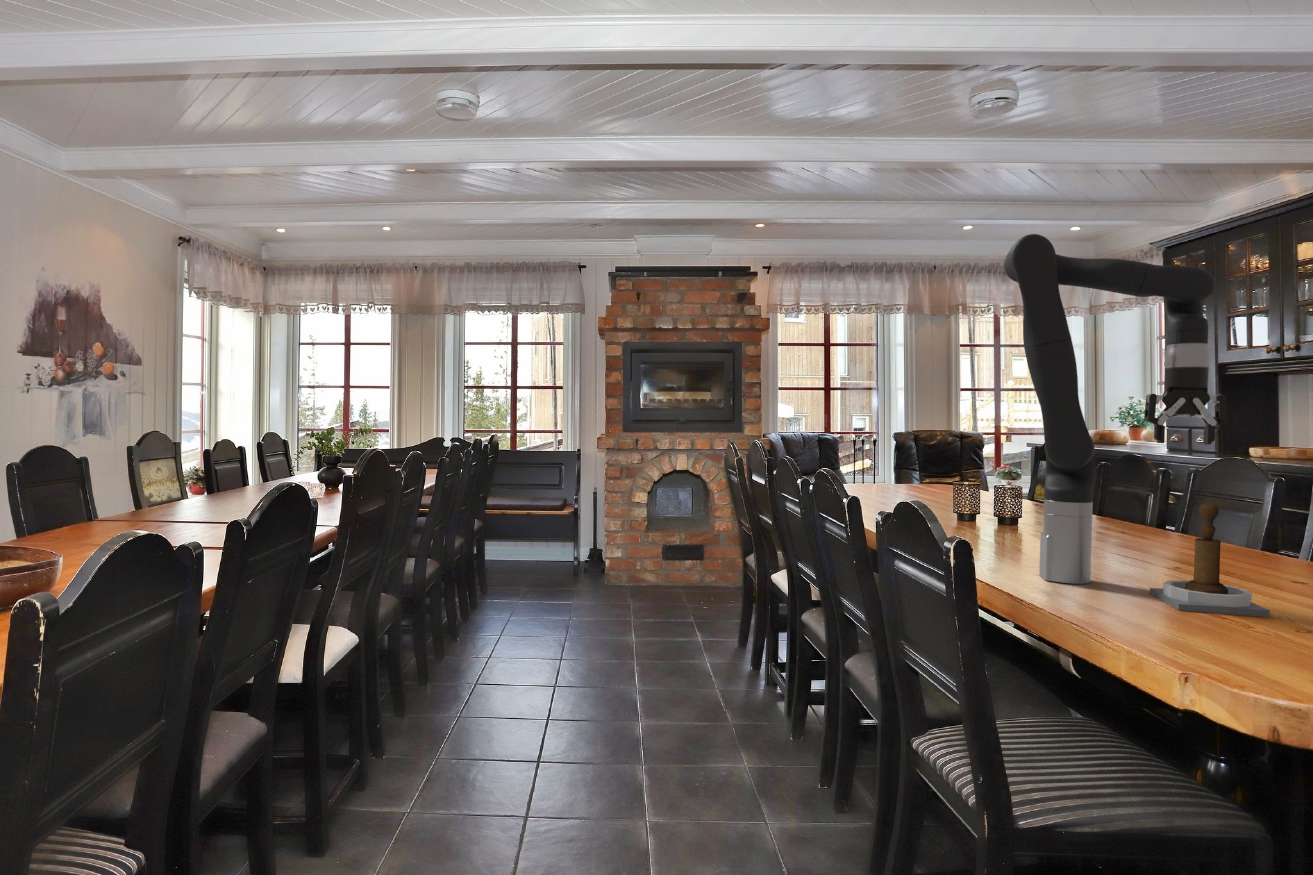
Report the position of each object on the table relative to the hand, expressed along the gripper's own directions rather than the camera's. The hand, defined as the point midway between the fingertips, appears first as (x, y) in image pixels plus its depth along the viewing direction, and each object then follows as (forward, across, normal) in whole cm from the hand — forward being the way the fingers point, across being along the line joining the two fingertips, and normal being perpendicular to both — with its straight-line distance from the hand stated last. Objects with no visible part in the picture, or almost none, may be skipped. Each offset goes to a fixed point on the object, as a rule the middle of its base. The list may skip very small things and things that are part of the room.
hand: (1183, 443), depth 156 cm
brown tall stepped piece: (+29, -2, -18) cm, 34 cm away
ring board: (+30, -2, -18) cm, 35 cm away
